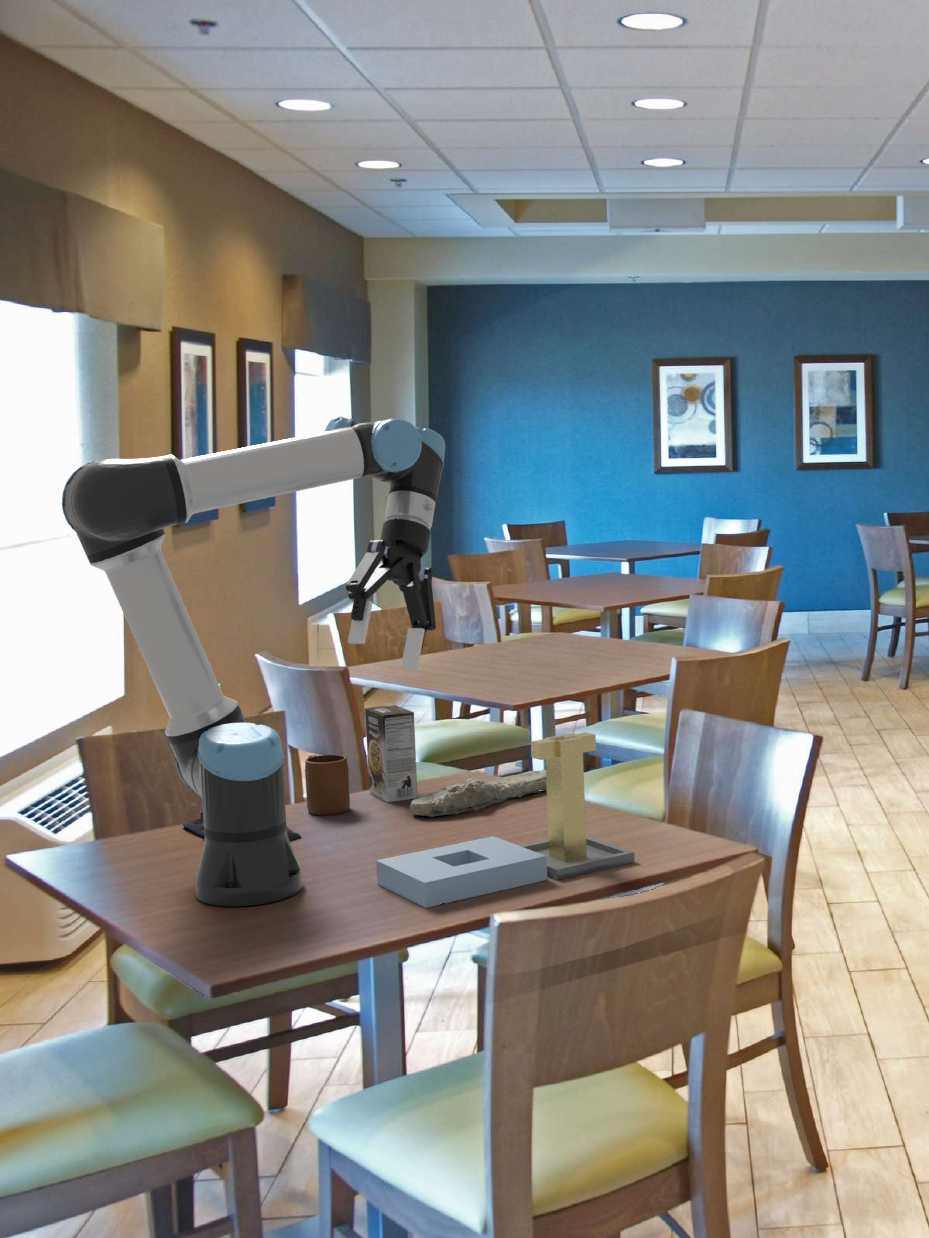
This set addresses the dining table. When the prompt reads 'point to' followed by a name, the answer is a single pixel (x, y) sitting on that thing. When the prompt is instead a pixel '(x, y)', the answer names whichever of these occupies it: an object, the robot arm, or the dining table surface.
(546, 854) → the tray
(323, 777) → the mug
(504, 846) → the cover plate
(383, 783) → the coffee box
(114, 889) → the dining table surface
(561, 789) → the t key
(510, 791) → the long grey stone
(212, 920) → the dining table surface
